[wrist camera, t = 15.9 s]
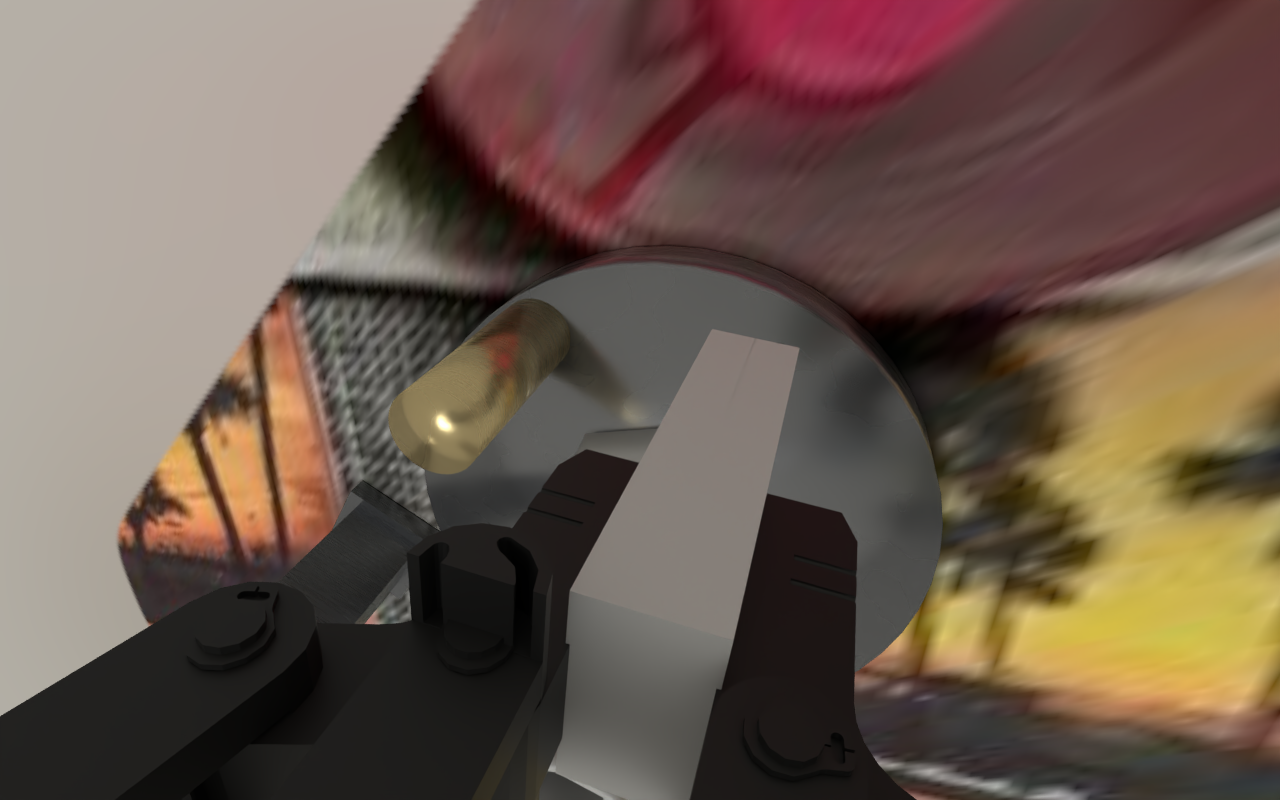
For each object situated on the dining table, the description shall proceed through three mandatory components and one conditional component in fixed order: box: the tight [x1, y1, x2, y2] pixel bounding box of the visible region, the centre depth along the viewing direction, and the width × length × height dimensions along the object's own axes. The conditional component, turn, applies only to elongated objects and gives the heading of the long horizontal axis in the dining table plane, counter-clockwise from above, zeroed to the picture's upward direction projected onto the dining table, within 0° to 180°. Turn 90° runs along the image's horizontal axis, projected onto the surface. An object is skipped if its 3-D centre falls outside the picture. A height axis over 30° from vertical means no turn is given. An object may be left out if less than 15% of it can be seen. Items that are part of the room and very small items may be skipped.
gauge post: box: [278, 481, 439, 624], centre depth 23 cm, size 4×5×14 cm
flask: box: [539, 429, 657, 800], centre depth 18 cm, size 7×7×10 cm
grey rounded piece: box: [388, 246, 943, 672], centre depth 21 cm, size 17×17×8 cm
